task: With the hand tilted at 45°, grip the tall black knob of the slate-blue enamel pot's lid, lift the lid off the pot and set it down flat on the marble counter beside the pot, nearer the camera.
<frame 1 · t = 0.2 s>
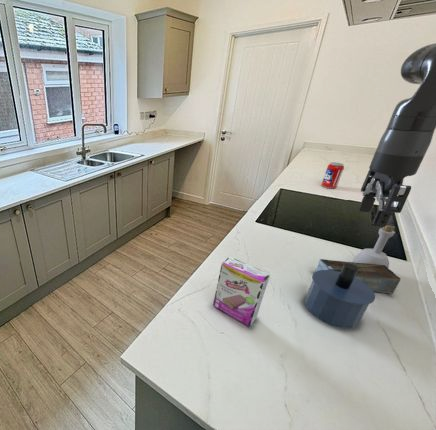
hand: (370, 218, 63), 30 cm above the worktop, tool pointing down, fingers open, 8 cm apart
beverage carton: (350, 283, 87), on the worktop
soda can: (328, 187, 164), on the worktop
candy bar box: (233, 313, 77), on the worktop
lid: (341, 286, 73), point 9 cm above the worktop, touching pot
pot: (330, 310, 77), on the worktop
potion bottle: (367, 269, 93), on the worktop
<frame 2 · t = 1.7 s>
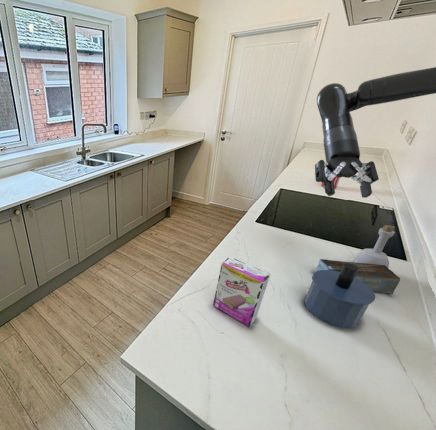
hand: (348, 195, 72), 32 cm above the worktop, tool tilted 45°, fingers open, 8 cm apart
nothing on the worktop moved.
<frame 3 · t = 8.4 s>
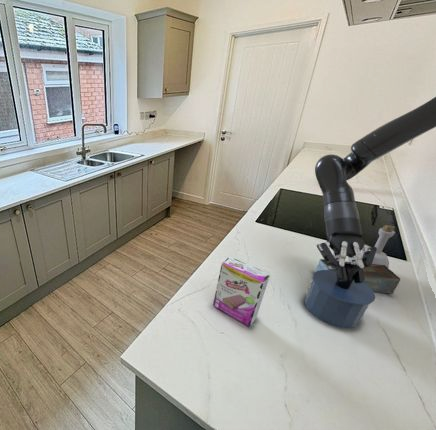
hand: (351, 281, 69), 12 cm above the worktop, tool tilted 45°, fingers closed on lid, 3 cm apart
lid: (341, 286, 73), point 9 cm above the worktop, touching gripper, pot
everything else where it was.
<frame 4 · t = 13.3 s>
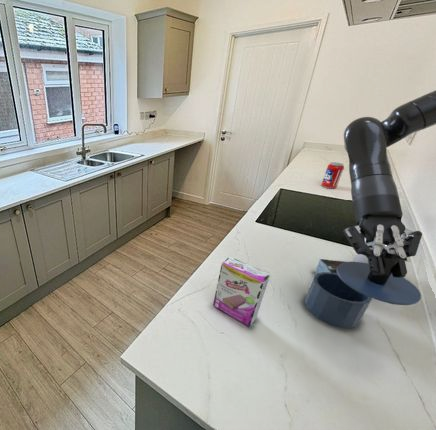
hand: (389, 275, 54), 24 cm above the worktop, tool tilted 45°, fingers closed on lid, 3 cm apart
lid: (375, 282, 58), point 20 cm above the worktop, touching gripper
everything else where it was.
when the fingers open (4 cm above the worktop, at t = 18.3 s): lid stays where it is, point 1 cm above the worktop.
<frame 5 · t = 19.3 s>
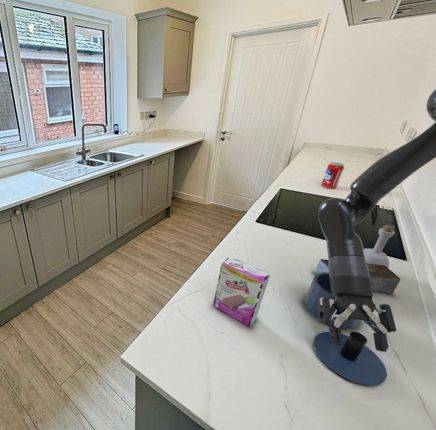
hand: (359, 348, 60), 6 cm above the worktop, tool tilted 45°, fingers open, 8 cm apart
lid: (347, 356, 63), point 1 cm above the worktop
everything else where it was.
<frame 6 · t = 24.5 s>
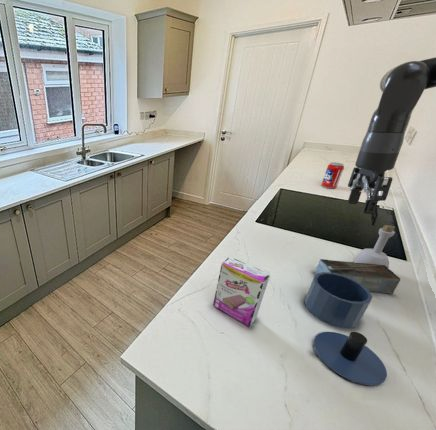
hand: (359, 208, 74), 28 cm above the worktop, tool pointing down, fingers open, 8 cm apart
nothing on the worktop moved.
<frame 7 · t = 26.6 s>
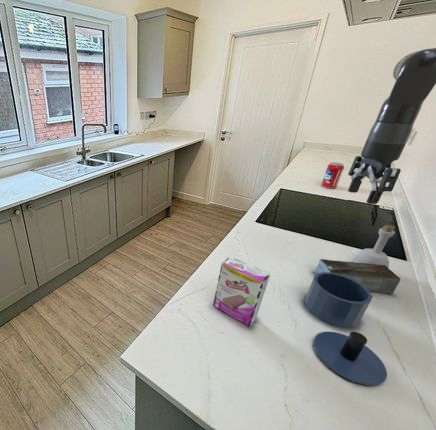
hand: (361, 197, 75), 30 cm above the worktop, tool pointing down, fingers open, 8 cm apart
nothing on the worktop moved.
at the end: lid inside the target area (0.1 cm from its centre), point 0.6 cm above the worktop; lid tilted 0°; the gripper is holding nothing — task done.
